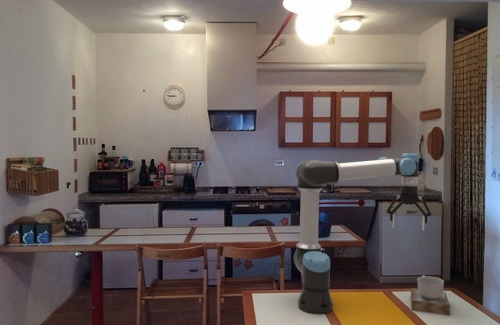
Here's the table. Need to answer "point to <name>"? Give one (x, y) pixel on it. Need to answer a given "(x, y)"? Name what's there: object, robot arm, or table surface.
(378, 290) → the table surface
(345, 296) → the table surface
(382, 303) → the table surface
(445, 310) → the walnut riser
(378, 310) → the table surface
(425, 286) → the teacup
